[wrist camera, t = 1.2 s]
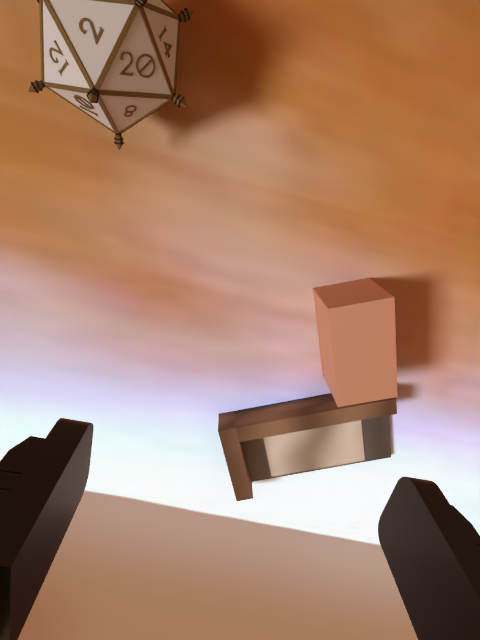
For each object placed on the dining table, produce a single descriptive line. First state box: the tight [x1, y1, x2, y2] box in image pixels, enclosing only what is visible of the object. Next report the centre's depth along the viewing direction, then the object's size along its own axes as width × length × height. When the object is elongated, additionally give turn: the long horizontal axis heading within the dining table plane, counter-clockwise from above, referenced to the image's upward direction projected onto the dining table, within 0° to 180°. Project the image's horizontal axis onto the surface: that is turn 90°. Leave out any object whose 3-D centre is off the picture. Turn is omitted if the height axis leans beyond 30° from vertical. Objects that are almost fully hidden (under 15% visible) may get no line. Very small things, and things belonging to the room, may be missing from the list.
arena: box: [218, 393, 397, 501], centre depth 34 cm, size 15×8×2 cm, turn 101°
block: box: [313, 278, 398, 407], centre depth 29 cm, size 4×8×5 cm, turn 10°
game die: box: [28, 0, 193, 150], centre depth 21 cm, size 9×8×10 cm
